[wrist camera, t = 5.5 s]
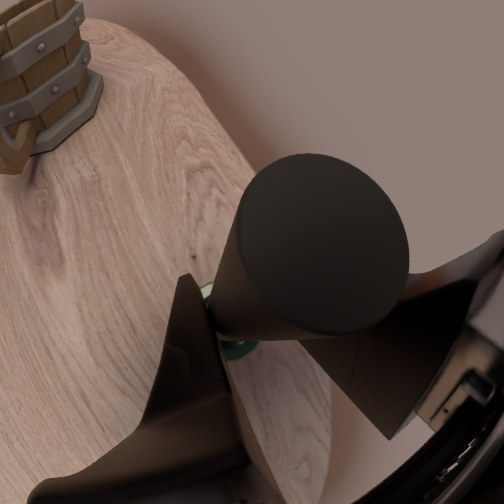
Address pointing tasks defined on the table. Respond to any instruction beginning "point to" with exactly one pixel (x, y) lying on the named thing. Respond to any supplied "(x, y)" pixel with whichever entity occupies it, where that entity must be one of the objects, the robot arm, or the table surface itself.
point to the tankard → (42, 78)
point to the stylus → (309, 255)
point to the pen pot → (230, 348)
